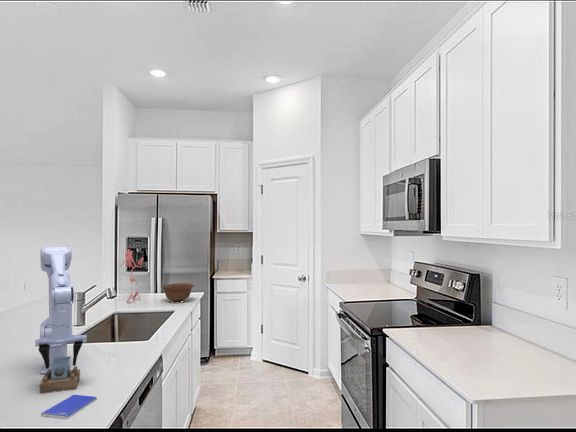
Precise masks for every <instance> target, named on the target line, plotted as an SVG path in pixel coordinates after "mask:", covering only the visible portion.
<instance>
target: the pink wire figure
mask: <svg viewBox="0 0 576 432" xmlns="http://www.w3.org/2000/svg"><path fill="white" fill-rule="evenodd" d="M126 252H127V253H125V254H124V256H125V259H124V261H123V262H122V263H121V264H120V266H122V265H124V264H125V266H128V268H129V269H130V268H131V267H132V268H131V270H130V271H131V273H130V279H129V280H130V283H131V284H133V282H136V285H138V284H139V282H138V281H137V280H135V278H134V277H133V270H134V269H136V268H142V264H143V262H144V259H145V258H144V257H141V258H140V259H138V261H137V264H136V263H135V261H134V258H133V250H131V249H130V248H128V249H127V251H126ZM132 263H133V264H132ZM133 265H134V266H133ZM130 291H131V292H130V295H129V298H128V299H127V301H126V303H128V302H130V300H131V298H132V300H133V302H134V303H135V302H136V300H135V298H137V296H138V299H139V300H140V299H141V297H140V294H139V291H138V290H136V291H135V294H134V295H133V293H132V291H133V288H131V290H130Z"/></svg>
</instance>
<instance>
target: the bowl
mask: <svg viewBox="0 0 576 432" xmlns="http://www.w3.org/2000/svg"><path fill="white" fill-rule="evenodd" d="M160 288H162V289H163V290H164V294H165V297H166V298H167V299H168V300H170V301H173V302H181V301H184V302H185V300H186V299H188V298H189V297H190V295H191V291H192V289H193V288H195V284H193V283H182V282H181V283H180V282H179V283H177V282H176V283H169V284H165V285H161V286H160Z"/></svg>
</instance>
